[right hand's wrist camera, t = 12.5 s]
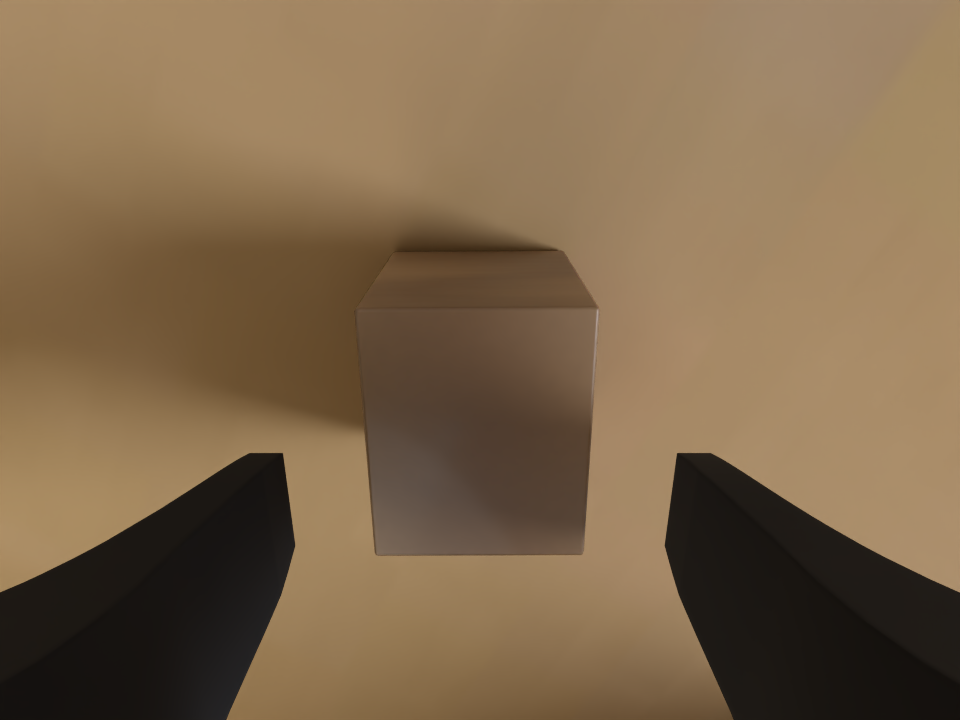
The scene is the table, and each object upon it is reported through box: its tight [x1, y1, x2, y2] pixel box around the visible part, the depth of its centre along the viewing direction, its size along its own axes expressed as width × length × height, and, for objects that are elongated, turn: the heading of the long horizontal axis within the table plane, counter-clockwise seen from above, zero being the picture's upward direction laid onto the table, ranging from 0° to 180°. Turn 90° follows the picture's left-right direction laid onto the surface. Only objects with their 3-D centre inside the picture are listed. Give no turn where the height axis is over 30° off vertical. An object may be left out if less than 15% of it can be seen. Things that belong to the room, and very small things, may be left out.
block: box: [355, 251, 600, 556], centre depth 13 cm, size 4×5×5 cm
